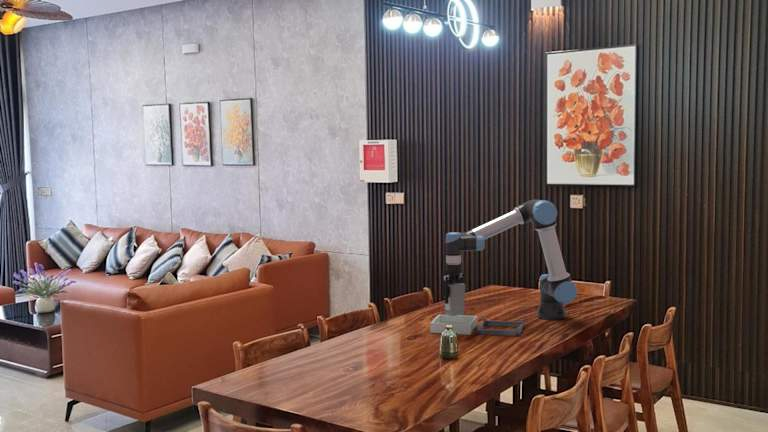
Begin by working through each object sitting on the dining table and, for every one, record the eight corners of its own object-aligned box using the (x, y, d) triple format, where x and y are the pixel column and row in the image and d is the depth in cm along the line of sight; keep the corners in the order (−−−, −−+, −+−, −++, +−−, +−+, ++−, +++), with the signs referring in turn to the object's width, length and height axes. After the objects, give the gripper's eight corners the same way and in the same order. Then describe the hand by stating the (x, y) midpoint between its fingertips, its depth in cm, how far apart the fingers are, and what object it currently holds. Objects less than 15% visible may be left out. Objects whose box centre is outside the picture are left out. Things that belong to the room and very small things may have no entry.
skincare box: (455, 312, 382) (456, 281, 381) (465, 314, 377) (466, 283, 375) (443, 314, 377) (444, 282, 376) (453, 316, 371) (454, 284, 370)
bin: (477, 325, 385) (477, 316, 384) (470, 334, 366) (470, 324, 365) (439, 324, 390) (438, 314, 390) (430, 332, 371) (430, 322, 371)
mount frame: (524, 326, 380) (524, 318, 380) (520, 336, 360) (520, 328, 360) (483, 324, 386) (483, 317, 386) (476, 334, 366) (476, 326, 366)
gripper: (461, 260, 385) (462, 304, 387) (433, 265, 371) (434, 310, 373) (473, 261, 380) (473, 306, 382) (444, 266, 365) (445, 312, 367)
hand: (453, 308), depth 377 cm, fingers closed on skincare box, 8 cm apart
